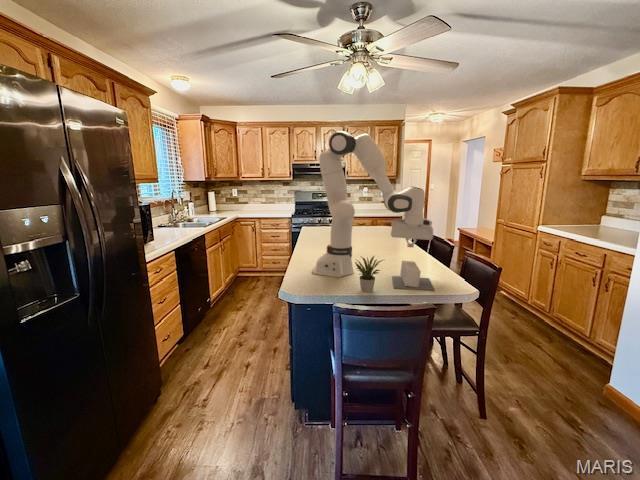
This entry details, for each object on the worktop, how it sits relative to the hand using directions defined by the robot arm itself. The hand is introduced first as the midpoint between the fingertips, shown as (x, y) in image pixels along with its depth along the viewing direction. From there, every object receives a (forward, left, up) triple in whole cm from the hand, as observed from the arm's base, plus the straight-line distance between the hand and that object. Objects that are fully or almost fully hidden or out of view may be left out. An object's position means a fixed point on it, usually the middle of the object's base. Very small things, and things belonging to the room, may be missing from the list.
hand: (410, 247), depth 152 cm
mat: (+1, -11, -15) cm, 19 cm away
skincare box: (-1, -2, -11) cm, 11 cm away
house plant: (-19, -23, -16) cm, 34 cm away
